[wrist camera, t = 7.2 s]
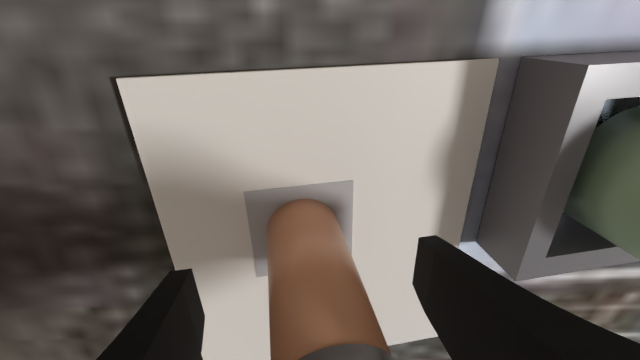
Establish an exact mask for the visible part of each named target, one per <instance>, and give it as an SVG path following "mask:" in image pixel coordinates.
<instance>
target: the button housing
mask: <svg viewBox="0 0 640 360" xmlns="http://www.w3.org/2000/svg"><path fill="white" fill-rule="evenodd" d="M630 97H640V51H627V52H608V53H588V54H569V55H549V56H530V57H522V58H521V62H520V66H519V70H518V74H517V78H516V82H515V86H514V91H513V95H512V99H511V103H510V107H509V111H508V115H507V119H506V123H505V127H504V131H503V135H502V139H501V143H500V147H499V151H498V155H497V159H496V164H495V168H494V172H493V176H492V180H491V184H490V188H489V192H488V196H487V200H486V204H485V208H484V212H483V216H482V220H481V224H480V228H479V233H478V237H477V241H476V242H477V243H478V244H479V245H480V246H481V247H482V248H483V249H484V250H485V251H486V252H487V253H488V254H489V255H490V256H491V257H492V258H493V259H494V260H495V261H496V262H497V263H498V265H499V266H500V267H501V268H502V269H503V270H504V271H505V272H506V273H507V274H508V275H509V276H510V277H511V278H512V279H513V280H514V281H520V280H526V279H533V278H539V277H545V276H551V275H557V274H563V273H569V272H575V271H581V270H587V269H593V268H599V267H605V266H612V265H618V264H624V263H630V262H636V261H640V260H639V259H637V258H636V257H634V256H632V255H631V254H629V253H628V252H626V251H624V250H623V249H621V248H619V247H618V246H616V245H615V244H613V243H611V242H610V241H608V240H607V239H605V238H603V237H602V236H600V235H598V234H597V233H595V232H594V231H592V230H590V229H589V228H587V227H586V226H584V225H582V224H581V223H579V222H577V221H576V220H574V219H573V218H571V217H570V216H568V215H567V214H566V213H563V211H564V208H565V205H566V203H567V200H568V198H569V195H570V192H571V190H572V187H573V184H574V182H575V179H576V177H577V174H578V171H579V169H580V166H581V164H582V161H583V158H584V156H585V153H586V150H587V148H588V145H589V143H590V140H591V137H592V135H593V132H594V130H595V127H596V124H597V122H598V119H599V116H600V114H601V111H602V109H603V106H604V103H605V101H606V99H617V98H630Z"/></svg>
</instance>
